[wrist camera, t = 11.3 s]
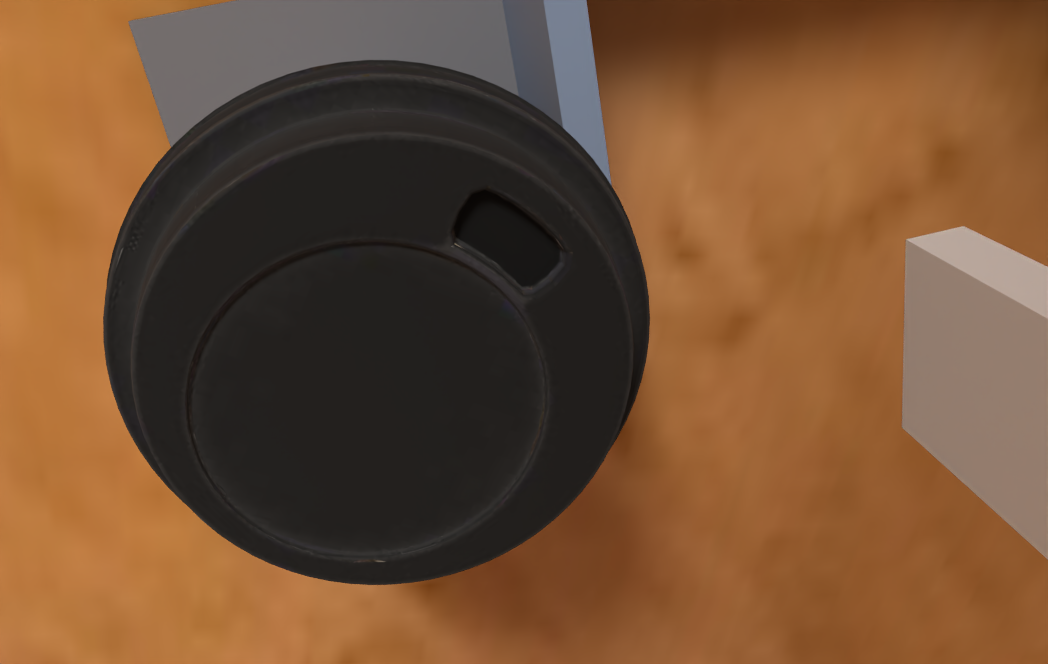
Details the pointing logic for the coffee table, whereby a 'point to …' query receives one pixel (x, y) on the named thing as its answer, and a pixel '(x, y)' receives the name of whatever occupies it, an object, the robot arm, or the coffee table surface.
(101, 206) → the coffee table surface
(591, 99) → the grey u-shaped wall
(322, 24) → the coaster
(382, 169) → the coffee cup
